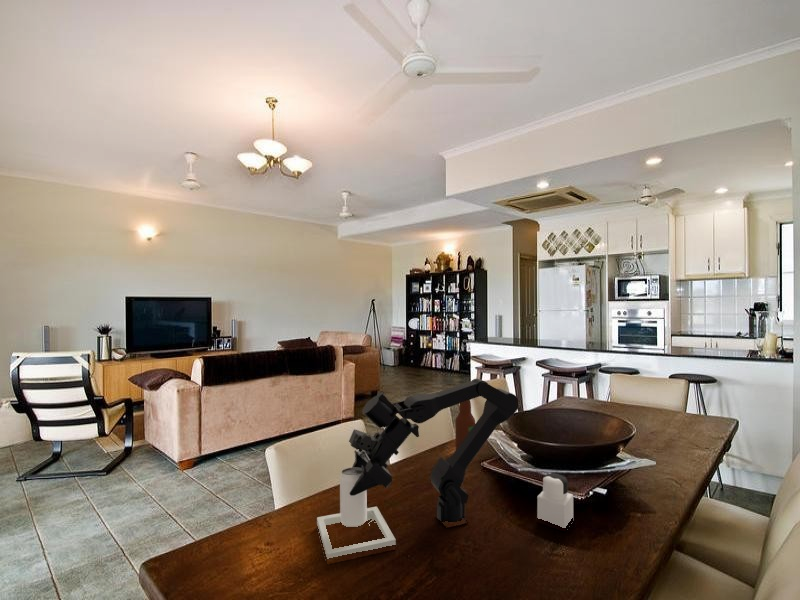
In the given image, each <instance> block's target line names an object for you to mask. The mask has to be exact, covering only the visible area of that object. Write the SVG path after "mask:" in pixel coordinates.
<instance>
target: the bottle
mask: <svg viewBox="0 0 800 600" xmlns="http://www.w3.org/2000/svg"><path fill="white" fill-rule="evenodd" d="M458 410H459V411H458V414H457V416H456V418H455V450H456V449H457V448H458V447H459V445H460V444H461V443H462V441H463V440H464V439H465V437H466V436H467V434H468V433H469V432H470V430H471V429H472V428H473V426H474V425H475V424H476V419H475V416H474V415H473V413H472V403H471V400H468V401H465V402H462V403H459V409H458Z"/></svg>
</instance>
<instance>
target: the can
mask: <svg viewBox="0 0 800 600" xmlns="http://www.w3.org/2000/svg"><path fill="white" fill-rule="evenodd" d="M361 474H362V468H358V467H353V468H352V467H347V468H344V469H342V470H341V474H340V477H339V508H340V509H339V513H340V522H341V523H342V525H344V526H346V527H358V526H361V525H363V524H364V523H365V522H366V521H367V508H368V503H367V499H368V498H367V496H368V493H367V491H368V490H365V491H363V492H361V493H359V494H357V495H355V496H354V495H352V496H351V495H350V491H351V490H352V488H353V487H354V485H355V483H356V482H357V480H358V479H359V477H360V476H361Z"/></svg>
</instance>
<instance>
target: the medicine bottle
mask: <svg viewBox="0 0 800 600" xmlns="http://www.w3.org/2000/svg"><path fill="white" fill-rule="evenodd" d="M568 482H569V481H568V479H567V478H566V477H565V476H564V475H561V474H558V473H546V474H544V476H543V477H542V491H541V492H540V493H539V494H538V495H537V497H536V502H537V503H536V519H537V518H538V519H542V520H544V521H548V522H550V523H552V524H555V525H558V526H560V527H562V528H566V526H567V525H568V523H569V522H570V521H571V519H572V518H573V519H574V494H572V493H569V491H568V489H569V486H568V485H569V483H568Z"/></svg>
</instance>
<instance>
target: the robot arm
mask: <svg viewBox="0 0 800 600" xmlns="http://www.w3.org/2000/svg"><path fill="white" fill-rule="evenodd" d="M479 397H482V398H483V399H485V402H484V405H483V410H482V411H483V412H482V414H481V416H480V417H479V418H478V419H477V421H475V425H474V426H473V428H472V429H471V430H470V432H469V433H468V434H467V436H466V437H465V439H464V440H463V441H462V443H461V444H460V445H459V447H458V448H457V449H456V448H455V451H454V452H453V453H452V455H451V456H449V457H448V458H445V459H444V458H443V456H440V457H439V458H438V460H437V462H436V464H435V465H434V466H432V467H431V470H432V471H431V472H430V475H429V477H430V482H431V484H432V486H433V487H434V488H435V489H436V490H437V492H438V493H439V494H440V495H438V502H437V503H436V514H437V517H436V518H437V519H438V521H439V520H440V521H441V522H445V521H448V522H457V521H461V520H462V518H465V519H466V504H467V502H468V500H469V499H468V498H469V496H470V495H469V494H468V493H467V492H466V491H465V490H464V489H463V488H462V486H463V483H464V481H465V475H466V470H467V468H468V467H469V466H470V464H471V462H472V461H474V458H475V457H476V456H477V455H478V453H479V452H480V451H481V449H482V448H483V446H484V444H486V442H487V441H488V440H489V438H490V436H491V435H492V434H493V432H494V431H495V430H496V428H497V427H498V426H499V425H500V424H502V423H505V422H506V421H508V420H510V418H511V417H512V416H514V415H515V413H516V412H517V411H518V409H519V407H520V404H519V399H518V397H517V396H516V395H515V394H514V393H512V392H510V391H507V390H505V389H502V388H496V387H494V386H492V385H490V384H489V383H488V382H487V381H485V380H483V379H481V378H473V379H471V380H470V381H467V382H465V383H460V384H459V385H455V386H452V387H449V388H447V389H443V390H440V391H438V392H434V393H420V394H412V395H410V396H407V397H406V398H405V399H404V400H400V401H397V402H393V403H392V402H391V401H390V400H389V399H388V398H387V397H386V396H385V394H383V393H382V392H379V393H378V394H377V395H375V396H373V397H372V398H371V399H369V400H367V402H366V403H365V404H364V407H362V410H361V413H362V414H363V415H364V416H365V417H367V419H368V420H370V421H371V422H372V423H373V424H374V425H375V426H376V427H377V428H383V430H382V431H381V432H379V431H377V432H375V433H374V434H369V433H367V432H364V431H361V430H358V429H355V428H354V429H353V431H352V433H351V435H350V438H349V440H348V443H350V446H351V447H352V448H353V449H355V450H354V459H355V460H354V462H353V464H352V467H351V468H353V467H358V468H362V474H361V476H360V477H359V479H358V480H357V482H356V483H355V485H354V487H353V488H352V490H351V491H350V495H351V496H352V495H354V496H355V495H357V494H359V493H361V492H363V491H365V490H367V491H368V490H369V489H372V488H375V487H378V486H383V487H384V488H385V489H387V488H388V487H389V486H390V485H391V484H392V482H393V475H392V474H391V472H390V471H389V470H388V469H387V467H388V464H387V462H388V461H389V460H390V459H391V458H392V457H393V455H395V456H397V455H398V454H399V450H398V449H399V448H400V447H401V446H402V445H403V444H404V442H405V441H406V439H407V438H408V437H409V436H410V435H411V434H413V435H414V436H415V438H419V437H420V433H419V432H420V431H419V428H420V426H419V425H418V424H423V423H425V422H427V421H429V420H431V419H433V418H434V417H436V416H437V414H439V412H441V411H442V410H445V409H448V408H450V407H453V406H456V405H460V403H462V402H465V401H468V400H470V401H471V400H473V399H476V398H479ZM397 414H398V415H399V416H400V417H402V418H400V417H399V416H397ZM411 421H412V422H413V423H412V422H411ZM440 521H439V522H440ZM441 522H440V523H441Z"/></svg>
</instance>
